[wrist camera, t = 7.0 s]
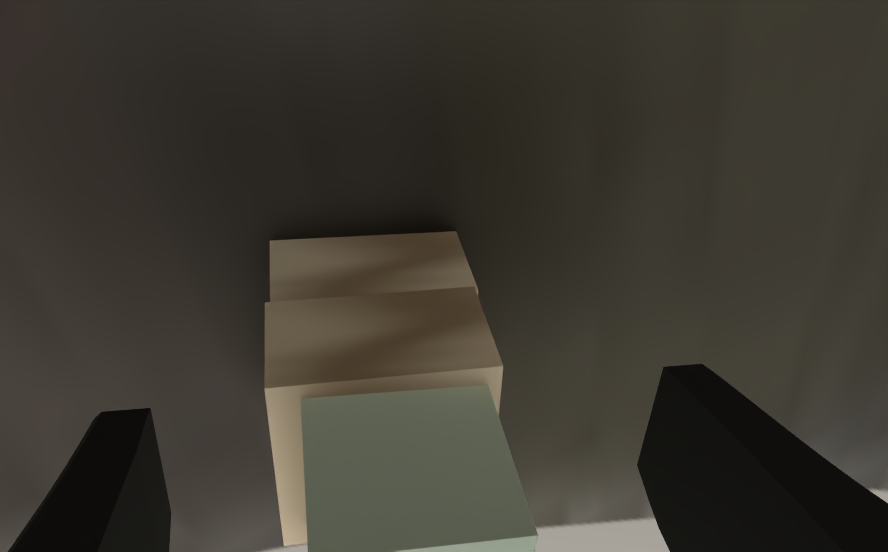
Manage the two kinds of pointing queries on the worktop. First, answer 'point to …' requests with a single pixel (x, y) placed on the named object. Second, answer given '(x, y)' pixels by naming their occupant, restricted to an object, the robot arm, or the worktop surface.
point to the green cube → (412, 474)
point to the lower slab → (367, 265)
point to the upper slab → (365, 364)
